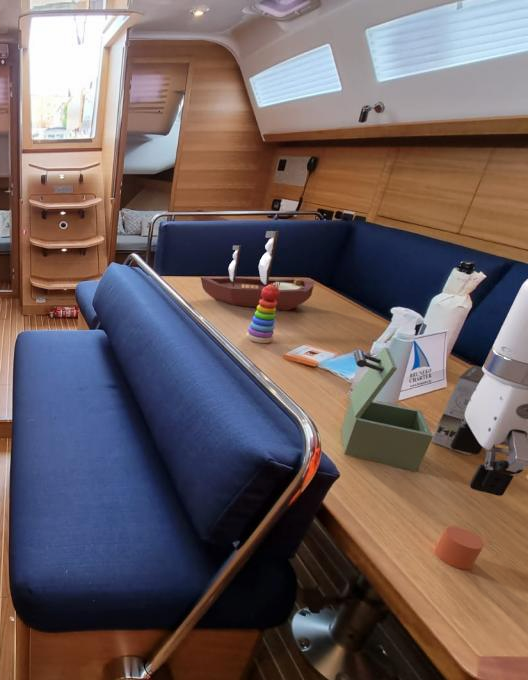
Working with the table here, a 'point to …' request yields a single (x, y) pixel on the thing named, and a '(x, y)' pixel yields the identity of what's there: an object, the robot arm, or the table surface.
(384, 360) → the green box lid
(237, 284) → the sailing ship
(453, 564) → the cylinder
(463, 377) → the coffee box
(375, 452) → the green hollow box
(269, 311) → the stacking toy
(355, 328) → the table surface
